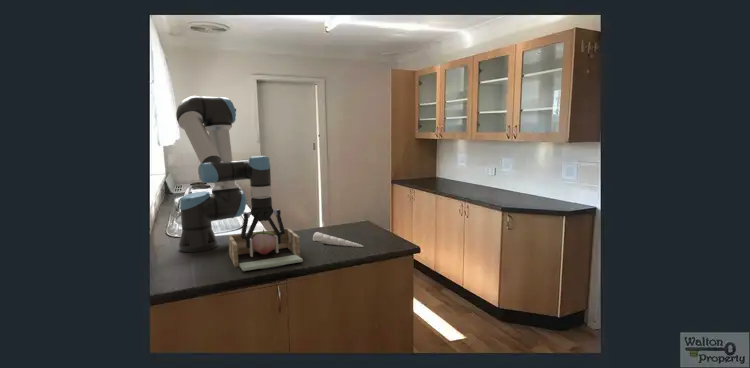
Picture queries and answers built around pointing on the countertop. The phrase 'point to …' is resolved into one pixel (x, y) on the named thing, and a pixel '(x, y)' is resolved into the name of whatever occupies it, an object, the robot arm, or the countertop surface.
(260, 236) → the decorative fruit
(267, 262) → the pale green panel
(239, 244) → the box
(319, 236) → the unicorn horn
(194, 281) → the countertop surface
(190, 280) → the countertop surface
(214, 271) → the countertop surface
